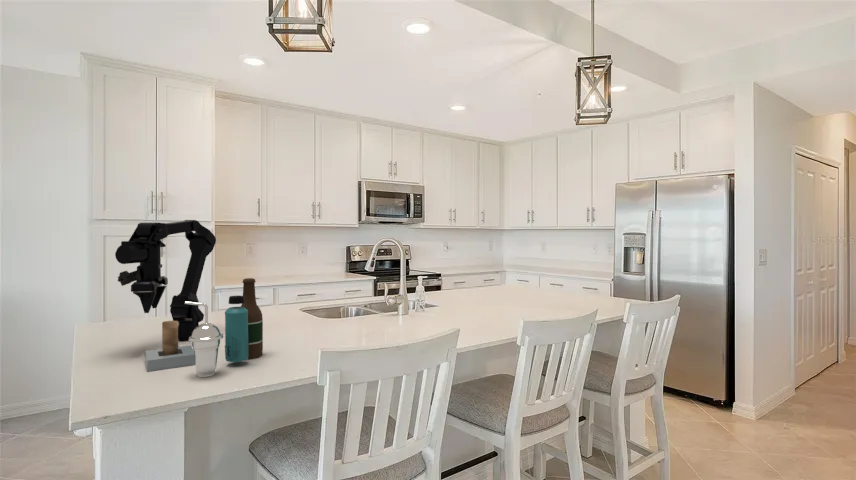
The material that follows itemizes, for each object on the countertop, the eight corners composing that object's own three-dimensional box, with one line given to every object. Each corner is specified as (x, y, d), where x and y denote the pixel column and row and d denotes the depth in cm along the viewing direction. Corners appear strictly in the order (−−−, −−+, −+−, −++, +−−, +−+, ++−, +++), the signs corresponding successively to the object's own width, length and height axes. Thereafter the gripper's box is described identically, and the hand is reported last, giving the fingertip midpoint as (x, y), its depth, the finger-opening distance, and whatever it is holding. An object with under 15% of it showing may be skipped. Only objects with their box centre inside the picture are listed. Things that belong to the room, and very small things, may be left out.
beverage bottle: (253, 362, 136) (253, 294, 135) (237, 368, 130) (237, 297, 129) (236, 360, 138) (235, 293, 138) (219, 366, 132) (218, 296, 131)
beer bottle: (268, 354, 144) (267, 278, 144) (249, 360, 137) (248, 280, 137) (249, 351, 148) (249, 276, 147) (230, 357, 141) (229, 279, 140)
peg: (174, 360, 138) (173, 320, 138) (180, 362, 136) (180, 321, 135) (160, 363, 135) (159, 322, 134) (166, 365, 132) (166, 324, 132)
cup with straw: (210, 380, 120) (210, 303, 119) (179, 378, 121) (178, 302, 121) (230, 370, 128) (229, 298, 128) (200, 368, 130) (200, 297, 129)
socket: (190, 354, 143) (190, 345, 143) (195, 364, 133) (195, 354, 133) (145, 360, 137) (145, 350, 137) (147, 371, 127) (147, 360, 127)
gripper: (130, 260, 154) (130, 306, 154) (110, 264, 136) (111, 317, 136) (167, 259, 157) (168, 305, 157) (153, 263, 139) (154, 315, 140)
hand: (150, 310), depth 147 cm, fingers open, 9 cm apart
